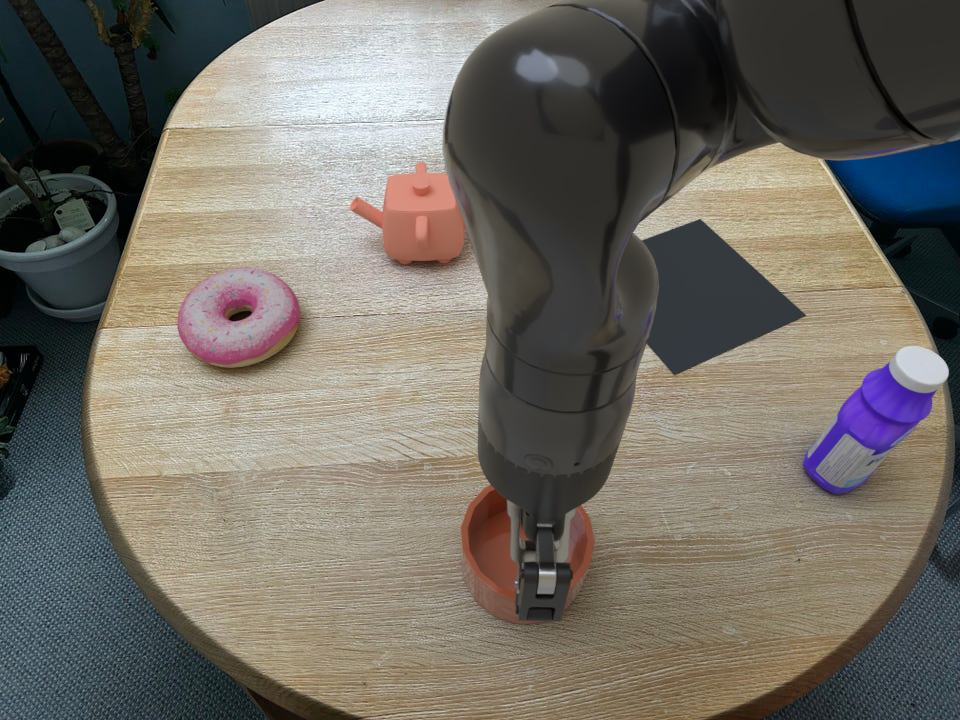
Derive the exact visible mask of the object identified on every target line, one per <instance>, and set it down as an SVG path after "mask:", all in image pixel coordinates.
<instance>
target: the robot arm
mask: <svg viewBox="0 0 960 720" xmlns="http://www.w3.org/2000/svg"><path fill="white" fill-rule="evenodd" d="M441 139H442V140H441V141H442V143H441V145H442V146H441V147H442V156H443V164H444V169H445V172H446V173H445V174H447V176H448V180H449V183H450V186H451V189H452V192H453V195H454V197H455V200H456V203H457V205H458V208H459V211H460V213H461V216H462V218H463V221H464V224H465V227H466V229H465V230H466V232H467V236H468V238H469V242H470V245H471V247H472V251H473V254H474V257H475V260H476V263H477V267H478V270H479V273H480V275H481V276H480V277H481V278H482V281H483V284H484V287H485V290H486V294H487V299H486V316H485V317H486V319H485V346H484V347H485V348H484V353H483V356H482V361H481V365H480V371H479V377H478V378H479V379H478V410H477V411H478V415H477V416H478V417H477V419H478V420H477V458H478V462H479V467H480V468H481V471H482V473H483V475H484V477H485V479H486V481H487V482H488V483H489V485H491V486H492V487H493V488H494V489H495V490H496V491H497V492H498V493H499V494H500V495H502V496H503V497H504V498H505V499H507V511H508V515H509V517H510V556H511V559H512V560H513V561H514V562H516V563H517V579H515V580H514V587H515V588H516V590H515V605H516V614H518V621H526V620H527V621H544V622H554V623H555V622H558V623H559V622H560V623H561V621H562V617H563V615H564V611H565V610H564V607H565V603H566V599H567V596H568V592H569V588H570V584H571V580H572V579H573V571H572V570H571V568H570V563H564V562H565V561H567V559H568V556H569V539H570V522H571V519H572V518H573V517H574V516H575V511H576V508H577V507H578V506H580V505H582V506H583V504H586V503H587V502H588V501H590V500H591V499H593V498H594V497H595V496H596V495H597V494H598V493H599V492H600V491H601V490H602V488H603V487H604V486H605V485H606V483H607V480H608V479H609V476H610V475H611V471H612V469H613V465H614V462H615V459H616V456H617V453H618V450H619V448H620V444H621V441H622V439H623V435H624V432H625V430H626V426H627V423H628V420H629V418H630V414H631V411H632V408H633V404H634V399H635V394H636V386H637V376H638V371H639V368H640V366H641V362H642V359H643V356H644V352H645V350H646V347H647V345H648V344H647V341H648V338H649V334H650V331H651V328H652V325H653V322H654V318H655V313H656V307H657V301H658V295H659V280H658V272H657V268H656V265H655V262H654V259H653V257H652V255H651V253H650V252H649V250H648V248H647V246H646V245H645V244H644V243H643V242H642V240H643V239H642V240H641V238H640V237H639V236H638V235H637V234H635V233H634V232H635V230H636V229H637V227H638V226H639V224H640V223H641V222H643V221H644V220H646V218H648V217H649V216H650V215H652V214H653V213H654V212H655V211H656V210H658V209H659V208H660V207H661V206H663V205H664V204H665V203H666V202H667V201H669V200H670V199H671V198H673V197H674V196H675V195H676V194H678V193H679V192H680V191H682V190H683V189H684V188H685V187H687V186H688V185H689V184H690V183H692V182H693V181H694V180H695V179H697V178H698V177H699V176H701V175H702V174H703V173H705V172H706V171H708V170H710V169H712V168H714V167H716V166H718V165H720V164H723V163H724V162H727V161H730V160H731V159H734V158H736V157H738V156H742V155H744V154H746V153H749V152H752V151H755V150H758V149H761V148H764V147H768V146H772V145H777V144H781V145H783V146H784V147H786V148H788V149H789V150H791V151H793V152H796V153H799V154H802V155H805V156H808V157H812V158H816V159H819V160H826V161H827V160H829V161H852V160H853V161H854V160H865V159H873V158H879V157H886V156H892V155H897V154H902V153H908V152H913V151H918V150H922V149H927V148H930V147H934V146H938V145H942V144H946V143H950V142H955V141H959V140H960V0H556V1H554V2H552V3H549V4H548V5H545V6H544V7H542V8H539V9H537V10H535V11H533V12H531V13H529V14H527V15H525V16H523V17H520V18H517V19H516V20H514V21H512V22H510V23H509V24H507V25H504V26H502V27H501V28H500V29H498V30H496V31H493V32H492V33H491V34H490V35H489V36H487V37H486V38H485V39H484V40H483V41H482V42H480V43H479V44H478V45H477V46H475V48H474V49H473V50H472V52H471V53H470V54H469V56H468V57H467V58H466V60H465V61H464V62H463V64H462V66H461V68H460V70H459V71H458V74H457V75H456V78H455V81H454V83H453V85H452V88H451V91H450V94H449V97H448V100H447V104H446V108H445V112H444V119H443V124H442V138H441ZM520 522H521V525H522V528H523V531H524V534H525V536H526V538H527V539H529V540H530V541H527V540H522V539H521V538H520ZM563 610H564V611H563Z"/></svg>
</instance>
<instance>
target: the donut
mask: <svg viewBox="0 0 960 720" xmlns="http://www.w3.org/2000/svg"><path fill="white" fill-rule="evenodd" d="M243 312H251V314H250V315H249V316H247V317H246V318H244V319H241V320H235V321H234V320H233V321H232V320H230V318H231V317H232V316H234V315H236V314H238V313H243ZM301 316H302V313H301V308H300V304H299V299H298V297H297V295H296V294H295V292H294V291H293V289H292V288H291V287H290V285H289V284H288V283H286V282H285V281H284V280H282V279H281V278H280V277H279V276H278V275H276V274H274V273H272V272H270V271H268V270H265V269H260V268H257V267H248V266H247V267H245V266H244V267H233V268H228V269H223V270H221V271H218V272H215V273H213V274H212V275H210V276H208V277H205V278H204V279H203V280H202V281H200V282H199V283H198V284H196V285H195V286H194V287H193V288H192V289H191V290H190V291H189V292H188V293H187V295H186V296H185V298H183V301H181V304H180V307H179V311H178V315H177V323H176V324H177V325H176V326H177V327H176V329H177V332H178V335H179V338H180V340H181V342H182V343H183V345H184V347H185V349H187V351H188V352H189V353H190V354H192V355H193V356H194V357H195V358H197V359H199V360H201V361H202V362H204V363H207V364H209V365H212V366H215V367H219V368H229V369H231V368H232V369H233V368H234V369H235V368H243V367H247V366H251V365H255V364H258V363H260V362H263V361H265V360H267V359H269V358H271V357H273V356H274V355H276V354H277V353H279V352H280V351H282V350H283V349H284V348H285V347H286V346H287V345H288V344H289V343H290V342H291V340H292V339H293V338H294V337H295V335H296V332H297V330H298V328H299V325H300V322H301Z"/></svg>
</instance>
